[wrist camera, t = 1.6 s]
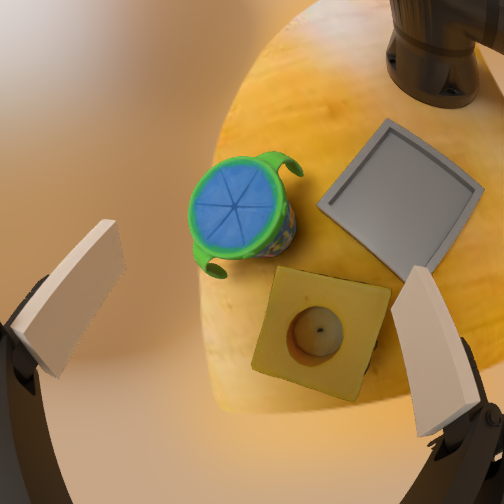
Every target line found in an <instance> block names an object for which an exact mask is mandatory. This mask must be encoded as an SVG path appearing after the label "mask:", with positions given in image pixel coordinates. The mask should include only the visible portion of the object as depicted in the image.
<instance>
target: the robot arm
mask: <svg viewBox="0 0 504 504" xmlns="http://www.w3.org/2000/svg"><path fill="white" fill-rule="evenodd" d="M390 5H391V11H392V17H393V23H394V30H393V33H392V36H391V39H390V42H389V45H388V48H387V51H386V62H387V69H388V72H389V75H390V76H391V78H392V80H393V81H394V82H395V83H396V84H397V85H398V86H399V87H400V88H401V89H402V90H403V91H404V92H406V93H407V94H409V95H410V96H412V97H413V98H415V99H417V100H419V101H422V102H424V103H427V104H429V105H433V106H437V107H442V108H458V107H463V106H465V105H467V104H469V103H470V102H471V101H472V100H473V99H474V98H475V96H476V93H477V89H478V86H479V74H478V68H477V62H476V57H475V52H474V48H475V42H477V43H480V44H482V45H484V46H487V47H489V48H491V49H493V50H495V51H497V52H499V53H501V54H503V55H504V0H390ZM125 270H126V266H125V262H124V257H123V252H122V248H121V243H120V238H119V233H118V227H117V222H116V221H114V220H105V219H103V220H102V221H100V222H99V223H98V225H96V226H95V227H94V228H93V229H92V230H91V231H90V232H89V233H88V234H87V235H86V236H85V237H84V238H83V239H82V241H80V243H79V244H78V245H77V246H76V247H75V248H74V249H73V250H72V251H71V252H70V253H69V254H68V255H67V256H66V258H65V259H64V260H63V261H62V262H61V263H60V264H59V265H58V266H57V268H56V269H55V270H54V271H53V272H52V273H51V274H50V275H47V276H45V277H44V278H42V279H41V280H40V281H38V282H37V284H36V285H35V286H34V287H33V288H32V290H31V292H29V293H28V295H27V296H26V297H25V299H24V300H23V301H22V302H21V303H20V305H19V306H18V307H17V309H16V310H15V311H14V313H13V314H12V315H11V317H10V318H9V320H8V321H7V322H6V324H5V325H4V326H3V325H2V324H1V322H0V504H73V503H72V500H71V498H70V496H69V493H68V491H67V488H66V486H65V483H64V480H63V478H62V475H61V472H60V469H59V466H58V463H57V460H56V456H55V453H54V450H53V446H52V442H51V439H50V435H49V431H48V426H47V422H46V417H45V412H44V407H43V401H42V396H41V389H40V382H39V375H38V371H37V369H36V367H37V365H38V364H39V365H40V367H41V368H42V369H43V370H44V371H45V372H46V373H48V374H49V375H51V376H53V377H55V378H57V379H59V378H60V376H61V374H62V372H63V370H64V368H65V367H66V365H67V363H68V361H69V359H70V357H71V356H72V354H73V352H74V350H75V349H76V347H77V345H78V343H79V342H80V340H81V338H82V337H83V335H84V333H85V332H86V330H87V328H88V327H89V325H90V323H91V322H92V320H93V319H94V317H95V315H96V314H97V312H98V311H99V309H100V308H101V306H102V304H103V303H104V301H105V300H106V298H107V297H108V295H109V294H110V292H111V291H112V289H113V288H114V286H115V285H116V283H117V282H118V280H119V279H120V277H121V276H122V275H123V273H124V271H125ZM391 312H392V316H393V319H394V323H395V326H396V330H397V334H398V338H399V342H400V346H401V350H402V354H403V358H404V362H405V367H406V371H407V376H408V381H409V386H410V391H411V397H412V402H413V408H414V415H415V421H416V429H417V436H418V437H423V436H429V435H433V434H435V433H437V432H438V431H440V430H441V429H443V432H444V434H443V435H441V436H439V437H438V438H436V439H434V440H433V441H431V442H430V443H429V444H428V445H427V446H428V447H430V446H432V445H433V444H435V443H436V445H435V446H434V447H433V448H431V449H432V450H433V451H432V453H431V454H430V456H429V458H428V460H427V462H426V463H425V465H424V467H423V469H422V470H421V472H420V473H419V475H418V477H417V478H416V480H415V482H414V483H413V485H412V486H411V488H410V489H409V491H408V492H407V494H406V495H405V497H404V498H403V500H402V501H401V502H400V504H504V414H502V413H501V411H500V409H499V407H498V406H497V405H496V404H493V403H488V400H487V397H486V393H485V390H484V387H483V383H482V380H481V377H480V374H479V371H478V369H477V365H476V362H475V360H474V356H473V354H472V351H471V348H470V346H469V345H468V344H467V342H466V341H465V339H464V338H463V337H459V334H458V332H457V329H456V327H455V324H454V322H453V320H452V317H451V315H450V313H449V310H448V308H447V306H446V304H445V302H444V300H443V297H442V295H441V293H440V291H439V289H438V287H437V285H436V283H435V281H434V279H433V277H432V275H431V273H430V271H429V269H428V268H427V267H422V266H416V265H414V267H413V269H412V271H411V273H410V275H409V277H408V278H407V280H406V282H405V284H404V286H403V288H402V290H401V292H400V294H399V295H398V297H397V299H396V301H395V303H394V304H393V306H392V308H391ZM501 452H503V453H502V458H501V459H499V460H497V461H495V460H494V457H495V455H497V454H499V453H501Z"/></svg>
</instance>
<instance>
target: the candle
mask: <svg viewBox="0 0 504 504" xmlns="http://www.w3.org/2000/svg"><path fill="white" fill-rule="evenodd" d="M391 291H392V289H389V288H385V287H382V286H376V285H371V284H367V283H364V282H356V281H349V280H345V279H340V278H335V277H329V276H326V275H322V274H315V273H310V272H305V271H303V270H297V269H294V268H290V267H285V266H279V265H278V266H277V270H276V273H275V277H274V281H273V285H272V289H271V293H270V298H269V303H268V307H267V311H266V315H265V319H264V323H263V326H262V329H261V332H260V335H259V338H258V342H257V346H256V349H255V353H254V356H253V359H252V363H251V366H252V369H253V370H256V371H258V372H260V373H263V374H266V375H269V376H273V377H277V378H281V379H284V380H287V381H290V382H293V383H296V384H299V385H302V386H305V387H307V388H310V389H314V390H317V391H320V392H323V393H326V394H328V395H331V396H334V397H337V398H340V399H343V400H347V401H351V402H355V400H356V399H357V398H358V396H359V392H360V389H361V385H362V380H363V377H364V375H365V374H366V372H367V370H368V368H369V365H370V360H371V354H372V351H374V350H375V349H376V347H377V342H378V340H377V337H378V334H379V332H380V329H381V326H382V323H383V321H384V318H385V315H386V311H387V307H388V304H389V300H390V297H391Z"/></svg>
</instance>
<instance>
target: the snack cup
mask: <svg viewBox="0 0 504 504" xmlns="http://www.w3.org/2000/svg"><path fill="white" fill-rule="evenodd" d="M284 163H285V165H286V167H287V168H288V169H289V170H290V171H291V172H292V173H294V174H296V175H297V176H300V177H303V175H304V174H303V170H302V168H301V167H300V165H299V164H298V163H297V162H296V161H295V160H294V159H292V158H290V157H289V156H286V155H285V154H283V153H280V152H276V151H272V152H266V153H263V154H261V155H259V156H257V157H248V156H238V157H232V158H229V159H226V160H224V161H222V162H220V163H218V164H217V165H215V166H214V167H212V168H211V169H210V170H209V171H208V172H207V173H206V174H205V175H204V176H203V177H202V178H201V179H200V181H199V183H198V184H197V185H196V187H195V189H194V191H193V193H192V196H191V199H190V202H189V208H188V224H189V228H190V232H191V235H192V237H193V239H194V243H193V254H194V255H193V256H194V259H195V261H196V263H197V264H198V265H199V266H200V267H201V268H202V269H203V271H204V272H206V273H207V274H208V275H210V276H212V277H215V278H218V279H225V278H227V273H226V271H225V270H224V269H223V268H221V267H220V266H218V265H217V264H214V263H208V262H209V261H210V260H211V259H213V258H216V257H217V258H221V259H227V260H240V259H248V258H269V257H273V256H277V255H279V254H281V253H282V252H283V251H284V250H285V249H287V248H288V247H289V245H290V244H291V242H292V240H293V237H294V235H295V233H296V230H297V227H296V218H295V215H294V212H293V210H292V208H291V206H290V203H289V202H288V200H287V197H286V191H285V188H284V185H283V182H282V180H281V179H280V177H279V175H278V170H279V168H280V166H281V164H284Z"/></svg>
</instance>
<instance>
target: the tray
mask: <svg viewBox="0 0 504 504" xmlns="http://www.w3.org/2000/svg"><path fill="white" fill-rule="evenodd" d="M484 190H485V189H484V188H483V187H482V186H481V185H480V184H479V183H477V182H476V181H475V180H474V179H473V178H472V177H470V176H469V175H468V174H467V173H466V172H464V171H463V170H462V169H461V168H460V167H458V166H457V165H456V164H454V163H453V162H452V161H451V160H449V159H448V158H447V157H445V156H444V155H443V154H441V153H440V152H439V151H437V150H436V149H434V148H433V147H432V146H430V145H429V144H427V143H426V142H424V141H423V140H422V139H420V138H419V137H417V136H416V135H414V134H412V133H411V132H409V131H408V130H406V129H405V128H403V127H401V126H400V125H398V124H396V123H395V122H393V121H391V120H390V119H388V118H387V119H386V120H385V121H384V122H383V124H382V125H381V126H380V127H379V129H378V130H377V131H376V132H375V134H374V135H373V136H372V137H371V139H370V140H369V141H368V142H367V143H366V145H365V146H364V147H363V148H362V150H361V151H360V152H359V153H358V155H357V156H356V157H355V158H354V159H353V161H352V162H351V163H350V164H349V166H348V167H347V168H346V169H345V170H344V172H343V173H342V174H341V175H340V177H339V178H338V179H337V180H336V181H335V183H334V184H333V185H332V186H331V187H330V189H329V190H328V191H327V192H326V193H325V195H324V196H323V197H322V198H321V199H320V201H319V202H318V203H317V204H316V206H317V207H318V209H319V210H320V211H321V212H323V213H324V214H325V215H326V216H328V217H329V218H330V219H331V220H333V221H334V222H335V223H336V224H337V225H339V226H340V227H341V228H342V229H343V230H345V231H346V232H347V233H348V234H349V235H351V236H352V237H353V238H354V239H355V240H357V241H358V242H359V243H360V244H361V245H362V246H364V247H365V248H366V249H367V250H368V251H369V252H370V253H372V254H373V255H374V256H375V257H376V258H377V259H378V260H379V261H381V262H382V263H383V264H384V265H385V266H386V267H387V268H388V269H389V270H391V271H392V272H393V273H394V274H395V275H396V276H397V277H398V278H399V279H400V280H401V281H402V282H403V283H405V282H406V280H407V278H408V277H409V275H410V273H411V271H412V269H413V267H414V265H416V266H422V267H427V268H428V269H429V271H430V273H432V272H433V271H434V269H435V268H436V267H437V265H438V264H439V263H440V261H441V260H442V258H443V257H444V255H445V254H446V253H447V251H448V250H449V248H450V247H451V245H452V244H453V242H454V241H455V239H456V238H457V236H458V235H459V233H460V231H461V230H462V228H463V227H464V225H465V223H466V222H467V220H468V218H469V217H470V215H471V213H472V212H473V210H474V208H475V206H476V205H477V203H478V201H479V199H480V197H481V196H482V194H483V192H484Z"/></svg>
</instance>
